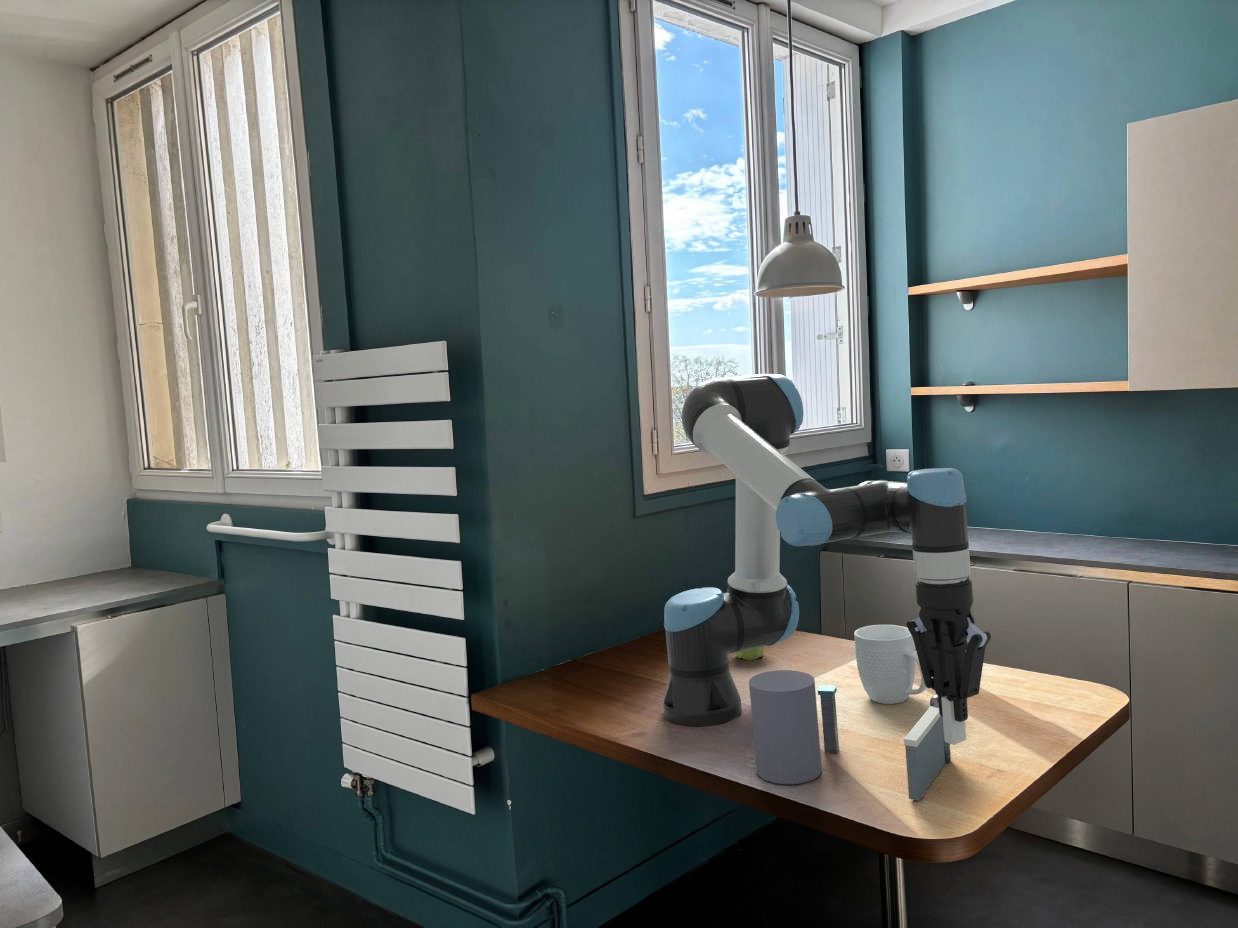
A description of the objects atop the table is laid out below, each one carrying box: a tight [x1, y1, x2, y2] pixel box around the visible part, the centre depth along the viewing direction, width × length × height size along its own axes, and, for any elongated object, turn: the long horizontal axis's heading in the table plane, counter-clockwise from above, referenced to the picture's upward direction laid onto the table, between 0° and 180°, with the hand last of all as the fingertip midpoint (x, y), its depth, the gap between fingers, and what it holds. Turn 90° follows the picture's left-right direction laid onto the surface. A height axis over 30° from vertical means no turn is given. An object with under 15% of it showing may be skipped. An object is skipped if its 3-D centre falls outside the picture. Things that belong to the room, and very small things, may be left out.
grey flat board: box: [903, 705, 946, 802], centre depth 130 cm, size 14×2×9 cm, turn 145°
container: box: [748, 669, 822, 786], centre depth 138 cm, size 10×10×15 cm
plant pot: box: [735, 646, 765, 661], centre depth 201 cm, size 9×9×9 cm
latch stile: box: [817, 684, 840, 755], centre depth 145 cm, size 3×3×11 cm
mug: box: [853, 624, 928, 705], centre depth 164 cm, size 15×11×13 cm
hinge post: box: [929, 694, 952, 765], centre depth 137 cm, size 3×3×11 cm
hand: (955, 740), depth 123 cm, fingers closed
